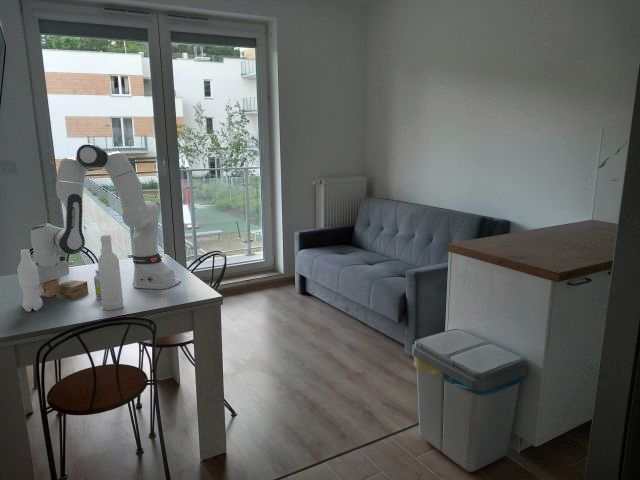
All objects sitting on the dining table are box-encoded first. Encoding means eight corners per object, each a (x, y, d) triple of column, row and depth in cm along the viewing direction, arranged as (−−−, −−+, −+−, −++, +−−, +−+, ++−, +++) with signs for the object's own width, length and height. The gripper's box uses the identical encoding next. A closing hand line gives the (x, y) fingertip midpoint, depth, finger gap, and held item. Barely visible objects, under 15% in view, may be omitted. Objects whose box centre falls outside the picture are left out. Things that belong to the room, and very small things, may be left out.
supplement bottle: (114, 294, 213) (111, 266, 210) (110, 299, 207) (107, 270, 204) (98, 295, 212) (95, 267, 209) (94, 300, 206) (91, 271, 203)
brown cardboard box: (60, 293, 216) (58, 280, 215) (49, 296, 211) (47, 283, 210) (50, 291, 218) (49, 279, 217) (40, 295, 213) (38, 282, 212)
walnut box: (88, 294, 215) (87, 281, 213) (73, 300, 206) (72, 287, 205) (71, 292, 217) (70, 280, 216) (56, 299, 208) (54, 286, 207)
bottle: (127, 304, 200) (120, 234, 193) (115, 311, 192) (107, 238, 186) (111, 303, 201) (103, 233, 195) (98, 309, 194) (90, 237, 188)
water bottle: (21, 313, 191) (12, 253, 185) (24, 308, 197) (15, 249, 192) (42, 311, 193) (33, 251, 188) (44, 305, 200) (36, 247, 195)
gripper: (29, 266, 201) (34, 298, 204) (69, 255, 219) (73, 284, 222) (18, 265, 203) (23, 296, 206) (59, 254, 222) (62, 283, 224)
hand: (49, 290), depth 214 cm, fingers closed on brown cardboard box, 5 cm apart
